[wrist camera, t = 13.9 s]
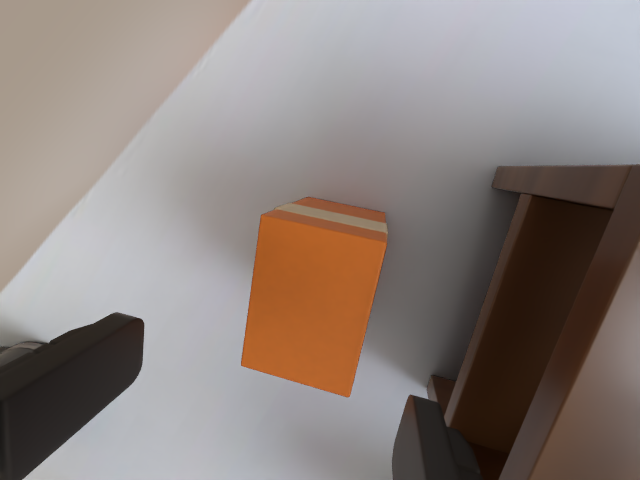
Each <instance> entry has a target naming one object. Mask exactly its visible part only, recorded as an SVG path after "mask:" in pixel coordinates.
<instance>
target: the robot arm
mask: <svg viewBox="0 0 640 480" xmlns="http://www.w3.org/2000/svg"><path fill="white" fill-rule="evenodd" d="M143 342H144V322H143V320H142V319H140V318H136V317H133V316H129V315H125V314H122V313H118V312H116V313H113V314H110V315H109V316H107V317H105V318H103V319H101V320H99V321H97V322H96V323H94V324H90V325H87V326H84V327H81V328H77V329H74V330H71V331H68V332H66V333H65V334H63V335H61V336H59V337H57V338H55V339H53V340H51V341H50V343H49V344H48V343H45V344H39V343H34V342H24V343H19V344H17V345H15V346H13V347H10V348H5V347H0V480H22V479H23V478H25V477H26V476H27V475H28V474H29V473H30V472H31V471H33V470H34V469H35V468H36V467H37V466H38V465H39V464H41V463H42V462H43V461H44V460H45V459H46V458H48V457H49V456H50V455H51V454H52V453H53V452H54V451H56V450H57V449H58V448H59V447H60V446H61V445H62V444H64V443H65V442H66V441H67V440H68V439H69V438H70V437H72V436H73V435H74V434H75V433H76V432H77V431H79V430H80V429H81V428H82V427H83V426H84V425H85V424H87V423H88V422H89V421H90V420H91V419H92V418H93V417H95V416H96V415H97V414H98V413H99V412H100V411H101V410H103V409H104V408H105V407H106V406H107V405H108V404H109V403H111V402H112V401H113V400H114V399H115V398H116V397H118V396H119V395H120V394H121V393H122V392H123V391H124V390H126V389H127V388H128V387H129V386H130V385H131V384H132V383H133V382H134V381H135V379H136V378H137V376H138V374H139V372H140V370H141V367H142V361H143ZM392 472H393V480H483V477H482V476H481V475H480V469H479V466H478V463H477V460H476V457H475V454H474V451H473V449H472V448H471V446H470V445H469V444H468V442H467V441H466V439H465V438H464V437H463V435H462V434H461V433H460V431H459V430H458V429H454V428H451V427H447V426H446V423H445V419H444V416H443V412H442V408H441V405H440V403H439V402H436V401H432V400H428V399H425V398H421V397H418V396H414V395H409V397H408V399H407V402H406V405H405V409H404V412H403V415H402V419H401V422H400V425H399V429H398V432H397V435H396V439H395V443H394V448H393V457H392Z"/></svg>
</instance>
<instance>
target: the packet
mask: <svg viewBox="0 0 640 480" xmlns="http://www.w3.org/2000/svg"><path fill="white" fill-rule="evenodd" d="M387 236H388V227H387V224H386V218H385V213H384V212H379V211H374V210H369V209H364V208H360V207H355V206H350V205H345V204H340V203H335V202H331V201H326V200H321V199H316V198H311V197H306V198H304V199H301V200H298V201H296V202H293V203H287V204H284V205H281V206H279V207H276V208H274V210H273V211H270V212H267V213H265V214H262V215H261V219H260V226H259V234H258V241H257V248H256V256H255V263H254V271H253V278H252V286H251V293H250V301H249V308H248V315H247V323H246V330H245V338H244V345H243V353H242V360H241V366H244V367H247V368H250V369H254V370H257V371H260V372H264V373H267V374H271V375H274V376H277V377H281V378H284V379H287V380H291V381H294V382H298V383H301V384H304V385H308V386H311V387H314V388H318V389H321V390H325V391H328V392H331V393H335V394H338V395H342V396H345V397H349V396H350V394H351V390H352V386H353V382H354V378H355V373H356V369H357V365H358V361H359V357H360V353H361V349H362V345H363V341H364V337H365V333H366V329H367V325H368V321H369V316H370V312H371V308H372V304H373V300H374V296H375V292H376V288H377V284H378V280H379V276H380V272H381V268H382V264H383V259H384V255H385V251H386V247H387Z"/></svg>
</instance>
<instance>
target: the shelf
mask: <svg viewBox="0 0 640 480" xmlns="http://www.w3.org/2000/svg"><path fill="white" fill-rule="evenodd" d="M492 187H493V188H497V189H502V190H507V191H513V192H518V193H522V194H521V195H520V198H519V201H518V204H517V207H516V210H515V213H514V216H513V219H512V222H511V224H510V227H509V230H508V233H507V236H506V239H505V242H504V245H503V248H502V250H501V253H500V256H499V259H498V262H497V265H496V268H495V271H494V274H493V277H492V279H491V282H490V285H489V288H488V291H487V294H486V297H485V300H484V303H483V305H482V308H481V311H480V314H479V317H478V320H477V323H476V326H475V329H474V332H473V334H472V337H471V340H470V343H469V346H468V349H467V352H466V355H465V358H464V360H463V363H462V366H461V369H460V372H459V375H458V378H457V381H456V382H455V381H451V380H448V379H444V378H441V377H437V376H433V375H431V377H430V380H429V384H428V387H427V393H428V398H429V400H432V401H436V402H439V403H440V405H441V408H442V412H443V416H444V419H445V423H446V426H447V427H451V428H454V429H458V430H459V431H460V433H461V434H462V435H463V437H464V438H465V439H466V441H467V442H468V444H469V445H470V446H471V448H472V449H473V451H474V454H475V457H476V460H477V463H478V466H479V469H480V475H481V476H482V477H483V480H640V164H636V165H634V164H626V165H555V166H499V167H498V168H497V171H496V174H495V177H494V180H493V184H492Z"/></svg>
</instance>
